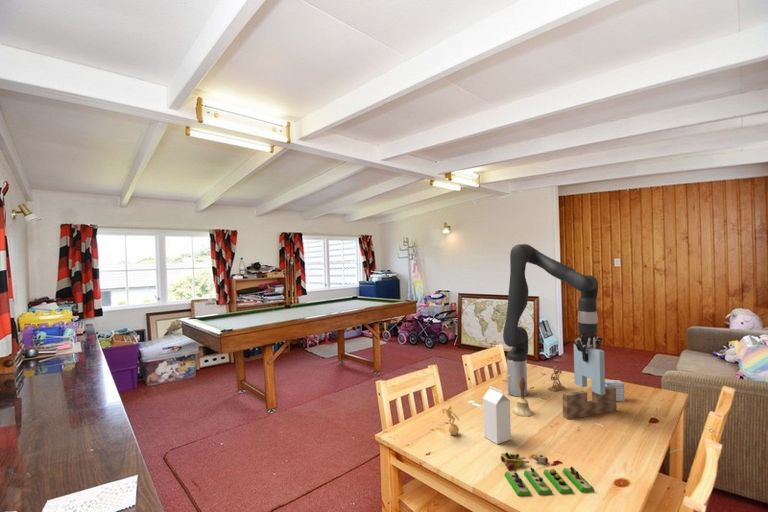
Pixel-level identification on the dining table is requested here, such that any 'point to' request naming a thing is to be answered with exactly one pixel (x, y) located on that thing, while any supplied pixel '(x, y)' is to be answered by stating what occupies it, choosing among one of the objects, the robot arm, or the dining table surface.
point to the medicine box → (618, 386)
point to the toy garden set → (537, 481)
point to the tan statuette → (558, 386)
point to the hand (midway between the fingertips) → (588, 360)
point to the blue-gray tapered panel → (590, 369)
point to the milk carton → (496, 416)
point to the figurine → (453, 427)
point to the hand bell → (522, 402)
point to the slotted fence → (588, 403)
